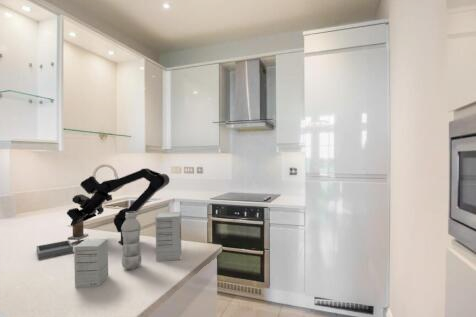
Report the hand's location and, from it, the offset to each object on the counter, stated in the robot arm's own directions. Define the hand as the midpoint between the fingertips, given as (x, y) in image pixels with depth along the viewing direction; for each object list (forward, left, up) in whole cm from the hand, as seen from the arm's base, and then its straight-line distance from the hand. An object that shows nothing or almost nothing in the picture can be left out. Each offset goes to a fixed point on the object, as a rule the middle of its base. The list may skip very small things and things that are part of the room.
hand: (75, 223), depth 123 cm
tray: (-10, +9, -8) cm, 16 cm away
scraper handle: (-1, -1, -7) cm, 7 cm away
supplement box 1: (-51, +3, -9) cm, 52 cm away
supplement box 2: (-48, -25, -9) cm, 55 cm away
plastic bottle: (-49, -10, -9) cm, 51 cm away
